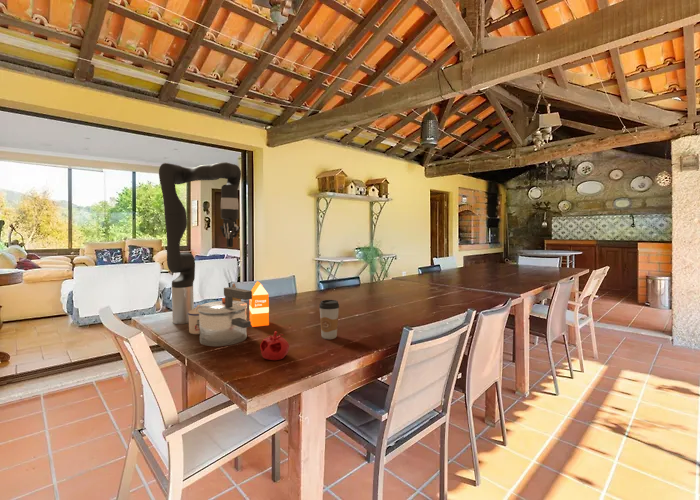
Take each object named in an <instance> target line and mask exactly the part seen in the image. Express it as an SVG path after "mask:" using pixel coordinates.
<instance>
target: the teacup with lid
mask: <svg viewBox="0 0 700 500" xmlns="http://www.w3.org/2000/svg"><path fill="white" fill-rule="evenodd" d="M200 305H201V304H197V306H196V307H194V309H193V310H190V311H189V312H188V314H189V323H188V333H190V335H191V334H192V335H200V325H199V312H198V307H199V306H200Z"/></svg>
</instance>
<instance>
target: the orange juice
mask: <svg viewBox="0 0 700 500" xmlns="http://www.w3.org/2000/svg"><path fill="white" fill-rule="evenodd" d="M250 291H252V299H249V300H248V301H249V305H248V306H249V307H248V308H249V321H251V327H252V328H254V327H264V326H270V318H269V317H270V301H269V299H270V298H269V297H270V296H269V292H267V290H266V289H265V288H264V286H263V284H262V283H261V282H259V281H258V280H257V281H256V282H255V284H254V285H253V287H252V289H251V290H250Z"/></svg>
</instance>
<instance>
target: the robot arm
mask: <svg viewBox="0 0 700 500" xmlns="http://www.w3.org/2000/svg"><path fill="white" fill-rule="evenodd" d="M158 178H159V183H160V184H159V185H160V188H161V193H162V201H163V207H164V212H163V213H164V222H165V223H164V224H165V230H166V232H165V233H166V265H167V268H168V271H169V272H170V273H173V274H179V275H178V276H177V277H176V278H175V279H173V280H172V281H171V300H172V301H171V302H172V303H171V304H172V305H171V306H172V308H171V309H172V324H175V325H182V324H183V325H184V324H189V314H188V312H189V311H190V310H193V309H194V308H195V306H194V304H195V303H194V298H195V297H194V282H195V276H196V275H195V274H196V261H195V260H196V259H195V257H194V255H193V254H192V253H190V252H181V240H182V238H183V236H184V234H185V232H186V230H187V227H188V218H187V211H186V208H185V206H184V205H183V203H182V201H181V199H180V198H179V196H178V193H177V190H176V189H177V188H176V185H182V184H187V183H191V182H196V181H216V180H219V179H225V180H226V183H225V184H222V186H221V190H220V193H221V194H220V195H221V196H220V197H221V198H220V219H222V220H223V221H222V225H220V226H219V228H220V230H221V231H220V232H221V234H222V236H223V237H224V238H225V239H226V248H233V247H234V239H235V238H236V237H237V236H238V233H239V231H240V229H241V227H240V226H238V225H237V224H238V222H237V220H239V199H238V198H239V187H240V183H241V178H242V171H241V168H240V167H239V165H237V164H233V163H230V162H224V161H222V162H217V163H213V164H212V163H211V164H210V163H208V164H201V165H198V166H196V167H187V166H181V165H180V164H177V163H176V164H175V163H170V162H163V163H162V164H161V165H160V166H159V169H158Z"/></svg>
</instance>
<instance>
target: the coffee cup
mask: <svg viewBox="0 0 700 500" xmlns="http://www.w3.org/2000/svg"><path fill="white" fill-rule="evenodd" d="M339 308H340V304H339V301H338V300H335V299H324V300H321V301H320V303H319V308H318V309H319V314H320V315H319V319H320V322H319V323H320V332H321V333H320V334H321V338H322V339H324V340H333V339H336V338H337V336H338V327H339V326H338V324H339Z"/></svg>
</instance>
